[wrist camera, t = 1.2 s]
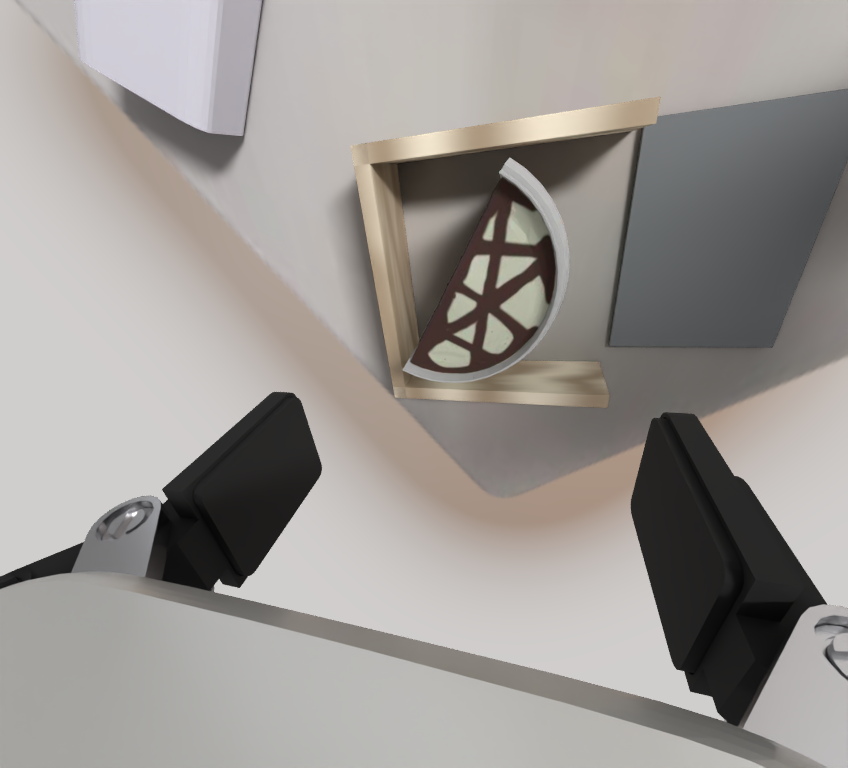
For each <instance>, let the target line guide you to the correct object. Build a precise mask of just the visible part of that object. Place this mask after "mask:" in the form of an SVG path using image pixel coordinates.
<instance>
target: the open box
mask: <svg viewBox="0 0 848 768" xmlns="http://www.w3.org/2000/svg"><path fill="white" fill-rule="evenodd" d="M660 98H661V97H655V98H649V99H643V100H636V101H630V102H624V103H617V104H611V105H605V106H598V107H592V108H586V109H580V110H573V111H567V112H561V113H554V114H548V115H542V116H535V117H529V118H523V119H516V120H510V121H504V122H497V123H491V124H485V125H478V126H472V127H466V128H459V129H453V130H447V131H440V132H434V133H428V134H421V135H415V136H409V137H403V138H396V139H390V140H384V141H377V142H371V143H365V144H358V145H352V146H351V151H352V157H353V163H354V168H355V174H356V180H357V185H358V191H359V197H360V203H361V208H362V214H363V220H364V225H365V231H366V237H367V242H368V248H369V254H370V259H371V265H372V271H373V276H374V282H375V288H376V293H377V299H378V305H379V310H380V316H381V322H382V328H383V333H384V339H385V345H386V350H387V356H388V362H389V367H390V373H391V379H392V384H393V390H394V396H395V398H412V399H432V400H453V401H474V402H494V403H515V404H536V405H556V406H577V407H598V408H608V403H609V397H610V395H609V392H608V388H607V385H606V382H605V379H604V376H603V373H602V370H601V366H600V363H599V362H587V361H528V360H520V361H519V362H517V363H516V364H514V365H513V366H511V367H509V368H508V369H506V370H504V371H502V372H499V373H497V374H495V375H492V376H490V377H487V378H484V379H480V380H476V381H471V382H462V383H443V382H437V381H430V380H427V379H423V378H420V377H417V376H414V375H412V374H409V373H407V372H405V371H403V368H404V367H405V365H406V363H407V362H408V360H409V358H410V357H411V355H412V354H413V352H414V350H415V349H416V347H417V345H418V344H419V334H418V326H417V318H416V310H415V302H414V294H413V286H412V278H411V270H410V262H409V254H408V246H407V238H406V230H405V222H404V214H403V206H402V198H401V190H400V182H399V174H398V166H397V163H404V162H411V161H418V160H426V159H433V158H440V157H447V156H454V155H462V154H469V153H476V152H483V151H491V150H498V149H505V148H512V147H520V146H527V145H534V144H541V143H549V142H556V141H563V140H570V139H577V138H585V137H592V136H599V135H606V134H614V133H621V132H628V131H634V130H637V129H640V128H643V127H647V126H650V125H653V124H656V122H657V116H658V110H659V104H660Z"/></svg>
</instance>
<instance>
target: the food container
mask: <svg viewBox="0 0 848 768" xmlns="http://www.w3.org/2000/svg"><path fill="white" fill-rule="evenodd" d="M499 174H500V178H501V179H500V181H499V183H498V185H497V187H496V189H495V190H494V192H493V193H492V196H491V199H490V202H489V204H488V206H487V208H486V210H485V212H484V214H483V216H482V217H481V220H480V222H479V224H478V226H477V228H476V230H475V232H474V234H473V236H472V238H471V240H470V242H469V244H468V246H467V248H466V250H465V252H464V254H463V256H462V257H461V260H460V262H459V264H458V266H457V268H456V270H455V272H454V274H453V276H452V278H451V280H450V282H449V283H448V285H447V288H446V290H445V292H444V294H443V296H442V298H441V301H440V302H439V305H438V307H437V309H436V310H435V311H434V314H433V316H432V318H431V320H430V322H429V324H428V326H427V328H426V330H425V332H424V334H423V336H422V338H421V340H420V342H419V344H418V345H417V347H416V349H415V350H414V352H413V354H412V355H411V357H410V358H409V360H408V362H407V363H406V365H405V367H404V368H403V371H405V372H407V373H409V374H412V375H414V376H417V377H420V378H423V379H427V380H430V381H437V382H443V383H462V382H471V381H476V380H480V379H484V378H487V377H490V376H492V375H495V374H497V373H499V372H502V371H504V370H506V369H508V368H509V367H511V366H513V365H514V364H516V363H517V362H519V361H520V360H522V359H523V358H524V357H525V356H526V355H527V354H529V353H530V352H531V351H532V350H533V349H534V348H535V347H536V346H537V344H538V343H539V342H540V341H541V340H542V339H543V337H544V336H545V334H546V333H547V331H548V329H549V328H550V326H551V325H552V323H553V321H554V319H555V318H556V316H557V314H558V311H559V309H560V307H561V304H562V302H563V299H564V296H565V292H566V288H567V283H568V279H569V264H570V257H569V247H568V239H567V235H566V231H565V228H564V224H563V220H562V218H561V216H560V214H559V212H558V210H557V207H556V205H555V203H554V201H553V200H552V198H551V197H550V195H549V194H548V193H547V191H546V190H545V188H544V187H543V185H542V184H541V183H540V182H539V181H538V180H537V179H536V178H535V177H534V176H533V175H532V174H531V173H530V172H529V171H528V170H527V169H526V168H524V167H523V166H521V165H520V164H519V163H517V162H516V161H514V160H513V159H511V158H509V159H508V160H507V161H506V163H505V164H504V166H503V168H502V170H500V172H499Z"/></svg>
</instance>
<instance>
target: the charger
mask: <svg viewBox="0 0 848 768" xmlns="http://www.w3.org/2000/svg"><path fill="white" fill-rule="evenodd" d="M74 4H75V16H76V27H77V39H78V51H79V59H80V60H81V61H83V62H84V63H85V64H87V65H88V66H90V67H91V68H93V69H95V70H96V71H98V72H100V73H101V74H103V75H105V76H106V77H108V78H110V79H112V80H113V81H115V82H117V83H118V84H120V85H122V86H123V87H125V88H127V89H128V90H130V91H132V92H133V93H135V94H137V95H139V96H140V97H142V98H144V99H145V100H147V101H149V102H150V103H152V104H154V105H155V106H157V107H159V108H161V109H162V110H164V111H166V112H167V113H169V114H171V115H172V116H174V117H176V118H177V119H179V120H181V121H183V122H185V123H187V124H189V125H191V126H193V127H195V128H197V129H199V130H202V131H204V132H207V133H213V134H225V135H237V136H243V134H244V127H245V119H246V112H247V105H248V98H249V91H250V84H251V76H252V69H253V62H254V55H255V48H256V41H257V34H258V26H259V19H260V12H261V5H262V0H74Z"/></svg>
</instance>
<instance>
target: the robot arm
mask: <svg viewBox="0 0 848 768" xmlns="http://www.w3.org/2000/svg"><path fill="white" fill-rule="evenodd" d="M321 471H322V465H321V462H320V459H319V455H318V452H317V450H316V446H315V443H314V440H313V437H312V434H311V431H310V428H309V425H308V421H307V418H306V415H305V412H304V409H303V406H302V403H301V401H300V400H299V398H297V397H296V396H295V394H293V393H287V392H273V393H271V394H270V395H269V396H268V397H266V398H265V399H264V400H263V401H262V402H261V403H260V404H259V405H258V406H256V407H255V408H254V409H253V410H252V411H250V412H249V413H248V414H247V415H246V416H245V417H244V418H243V419H241V420H240V421H239V422H238V423H237V424H236V425H235V426H234V427H232V428H231V429H230V430H229V431H228V432H227V433H225V434H224V435H223V436H222V437H221V438H220V439H219V440H218V441H216V442H215V443H214V444H213V445H212V446H211V447H210V448H208V449H207V450H206V451H205V452H204V453H203V454H202V455H201V456H199V457H198V458H197V459H196V460H195V461H194V462H193V463H191V465H189V466H188V467H187V468H186V469H185V470H183V471H182V472H181V473H180V474H179V475H178V476H177V477H175V478H174V479H173V480H172V481H171V482H170V483H169V484H168V485H166V486H165V487H164V488H163V489H162V490H163V492H164V493H165V495H166V497H167V498H168V500H167V501H166V502H165V503H164V504H162V503H161V501H160V500H159V499H158V498H157V497H154V496H141V497H137V498H134V499H131V500H128V501H126V502H124V503H121V504H120V505H118V506H116V507H114V508H113V509H111V510H109V511H108V512H107V513H105V514H104V515H103V516H102V517H100V518H99V519H98V521H97V522H96V523H94V525H93V526H92V527H91V529H90V530H89V532H88V534H87V536H86V539H85V541H84V542H83V543H80V544H78V545H76V546H73V547H71V548H68V549H66V550H63V551H61V552H58V553H56V554H53V555H51V556H48V557H46V558H44V559H41V560H39V561H36V562H34V563H31V564H29V565H26V566H24V567H22V568H19V569H17V570H14V571H12V572H10V573H8V574H6V575H3V576H0V768H848V608H845V607H842V606H834V605H827V603H826V602H825V600H824V599H823V597H822V596H821V594H820V593H819V591H818V590H817V588H816V587H815V585H814V584H813V582H812V581H811V579H810V578H809V576H808V575H807V573H806V572H805V570H804V569H803V567H802V566H801V564H800V563H799V561H798V559H797V558H796V557H795V555H794V553H793V552H792V550H791V549H790V547H789V546H788V544H787V543H786V541H785V540H784V538H783V537H782V535H781V534H780V532H779V531H778V529H777V528H776V526H775V525H774V523H773V522H772V520H771V519H770V517H769V516H768V514H767V513H766V511H765V510H764V508H763V507H762V505H761V503H760V502H759V500H758V499H757V497H756V496H755V494H754V493H753V492H752V490H751V488H750V487H749V485H748V484H747V483H746V482H745V481H744V480H743V479H742V478H740V477H737V476H734V475H733V473H732V472H731V470H730V469H729V467H728V465H727V464H726V462H725V461H724V459H723V457H722V456H721V454H720V453H719V451H718V450H717V448H716V446H715V445H714V443H713V442H712V440H711V439H710V437H709V436H708V434H707V433H706V431H705V429H704V428H703V426H702V425H701V423H700V421H699V420H698V418H697V417H696V416H695V415H694V414H686V413H667V412H665V413H663V414H662V415H661V417H660V418H654V419H652V421H651V424H650V428H649V432H648V436H647V440H646V444H645V448H644V452H643V455H642V459H641V463H640V467H639V471H638V476H637V479H636V483H635V487H634V491H633V495H632V499H631V513H632V518H633V521H634V525H635V528H636V532H637V536H638V540H639V543H640V547H641V551H642V554H643V558H644V561H645V565H646V569H647V572H648V575H649V579H650V583H651V587H652V590H653V594H654V598H655V601H656V605H657V609H658V612H659V616H660V619H661V623H662V626H663V630H664V634H665V638H666V641H667V645H668V648H669V652H670V656H671V659H672V662H673V664H674V666H675V668H676V669H677V670H682V671H684V672H685V675H686V679H687V682H688V686H689V689H690V691H691V692H694V693H699V694H703V695H708V696H712V697H713V700H714V703H715V706H716V709H717V712H718V713H719V714H720V715H721V716H722V717H723V718H724V719H725V721H721V720H718V719H714V718H711V717H708V716H705V715H701V714H698V713H695V712H692V711H689V710H685V709H682V708H679V707H676V706H672V705H669V704H666V703H663V702H659V701H656V700H651V699H648V698H644V697H640V696H636V695H633V694H629V693H625V692H621V691H617V690H614V689H610V688H606V687H602V686H598V685H595V684H591V683H587V682H583V681H579V680H576V679H572V678H568V677H564V676H560V675H556V674H552V673H549V672H544V671H540V670H536V669H532V668H528V667H524V666H519V665H516V664H511V663H507V662H503V661H499V660H495V659H491V658H487V657H483V656H479V655H475V654H470V653H467V652H463V651H458V650H454V649H450V648H446V647H442V646H438V645H434V644H430V643H426V642H422V641H418V640H413V639H409V638H405V637H401V636H397V635H393V634H388V633H384V632H380V631H376V630H372V629H367V628H363V627H359V626H355V625H351V624H347V623H343V622H338V621H334V620H329V619H326V618H322V617H317V616H313V615H309V614H305V613H300V612H296V611H292V610H288V609H284V608H279V607H275V606H271V605H266V604H262V603H258V602H254V601H249V600H245V599H241V598H236V597H232V596H228V595H223V594H219V593H215V592H214V584H215V583H216V582H217V580H218V579H220V581H221V582H222V584H225V585H229V586H234V587H238V588H240V587H241V585H242V584H243V583H244V581H245V580H246V578H247V577H248V576H250V575H252V574H253V573H254V572H255V571H256V569H257V568H258V566H259V565H260V564H261V562H262V560H263V559H264V558H265V556H266V555H267V553H268V552H269V550H270V549H271V547H272V546H273V544H274V543H275V541H276V540H277V538H278V537H279V536H280V534H281V533H282V531H283V530H284V528H285V527H286V525H287V524H288V522H289V521H290V520H291V518H292V517H293V515H294V514H295V512H296V511H297V509H298V508H299V506H300V505H301V503H302V502H303V500H304V499H305V497H306V496H307V495H308V493H309V492H310V490H311V489H312V487H313V486H314V484H315V483H316V481H317V480H318V478H319V476H320V475H321Z"/></svg>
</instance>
